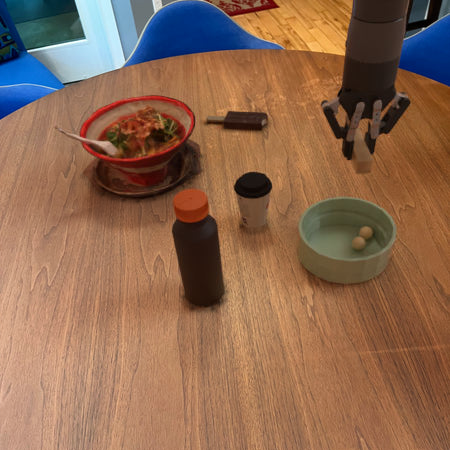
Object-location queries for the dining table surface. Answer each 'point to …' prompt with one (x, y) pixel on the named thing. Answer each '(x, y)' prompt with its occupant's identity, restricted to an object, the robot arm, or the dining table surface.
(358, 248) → the chickpea
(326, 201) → the bowl
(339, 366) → the dining table surface
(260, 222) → the coffee cup
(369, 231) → the chickpea
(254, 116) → the ice cream bar
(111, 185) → the stew
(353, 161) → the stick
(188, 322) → the dining table surface
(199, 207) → the bottle
